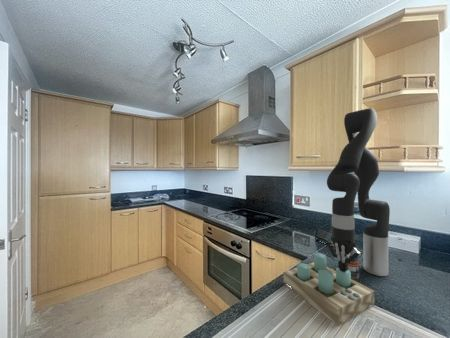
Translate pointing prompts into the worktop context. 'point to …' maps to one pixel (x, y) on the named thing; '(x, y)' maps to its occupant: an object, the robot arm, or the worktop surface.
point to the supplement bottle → (354, 269)
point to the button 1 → (303, 272)
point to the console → (331, 295)
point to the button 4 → (343, 278)
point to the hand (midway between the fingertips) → (343, 270)
